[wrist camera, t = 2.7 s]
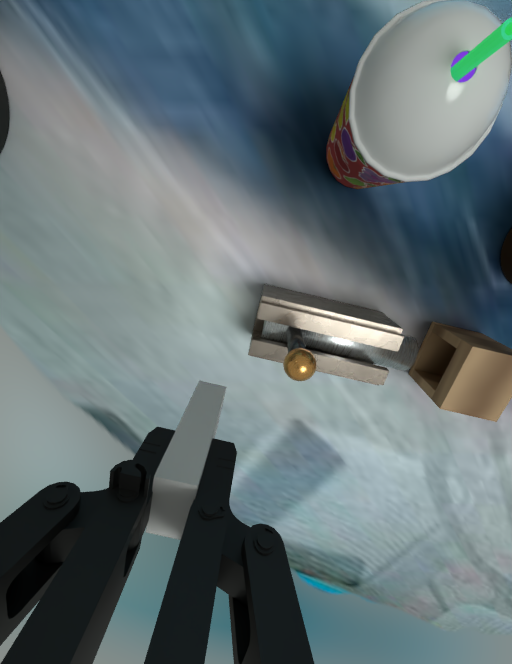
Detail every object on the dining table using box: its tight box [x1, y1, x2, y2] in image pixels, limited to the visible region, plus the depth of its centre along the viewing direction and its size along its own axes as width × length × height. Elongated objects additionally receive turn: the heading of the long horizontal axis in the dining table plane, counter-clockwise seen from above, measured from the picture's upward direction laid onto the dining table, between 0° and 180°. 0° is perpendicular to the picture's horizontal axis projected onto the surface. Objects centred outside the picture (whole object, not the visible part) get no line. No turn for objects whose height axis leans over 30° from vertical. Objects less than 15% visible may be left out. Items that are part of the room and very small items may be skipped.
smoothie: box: [326, 0, 512, 189], centre depth 20 cm, size 8×8×20 cm
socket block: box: [408, 322, 512, 422], centre depth 33 cm, size 6×7×8 cm
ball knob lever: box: [261, 321, 418, 381], centre depth 29 cm, size 16×4×12 cm, turn 77°
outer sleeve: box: [248, 284, 404, 385], centre depth 33 cm, size 14×6×7 cm, turn 77°
